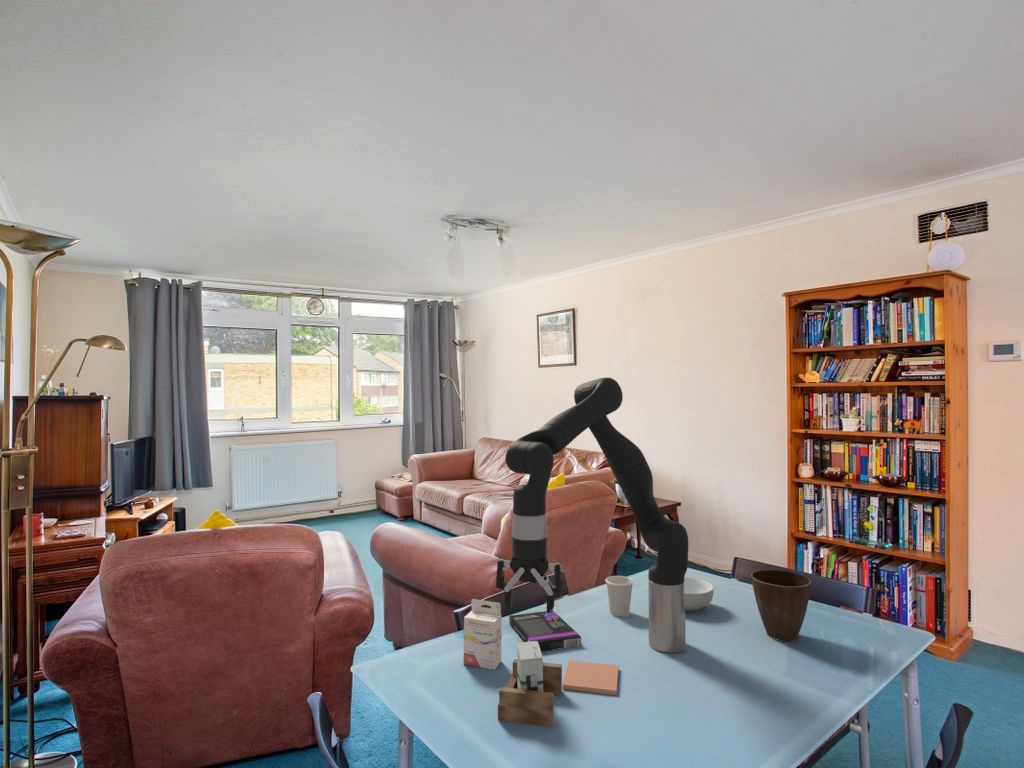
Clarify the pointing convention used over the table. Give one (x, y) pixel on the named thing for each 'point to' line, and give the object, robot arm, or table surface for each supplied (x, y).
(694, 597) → the cereal bowl
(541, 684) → the ink box
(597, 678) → the terracotta tile
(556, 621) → the box
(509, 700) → the walnut slot rack
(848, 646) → the table surface
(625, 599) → the dixie cup
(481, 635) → the ink cartridge box
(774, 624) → the plant pot
